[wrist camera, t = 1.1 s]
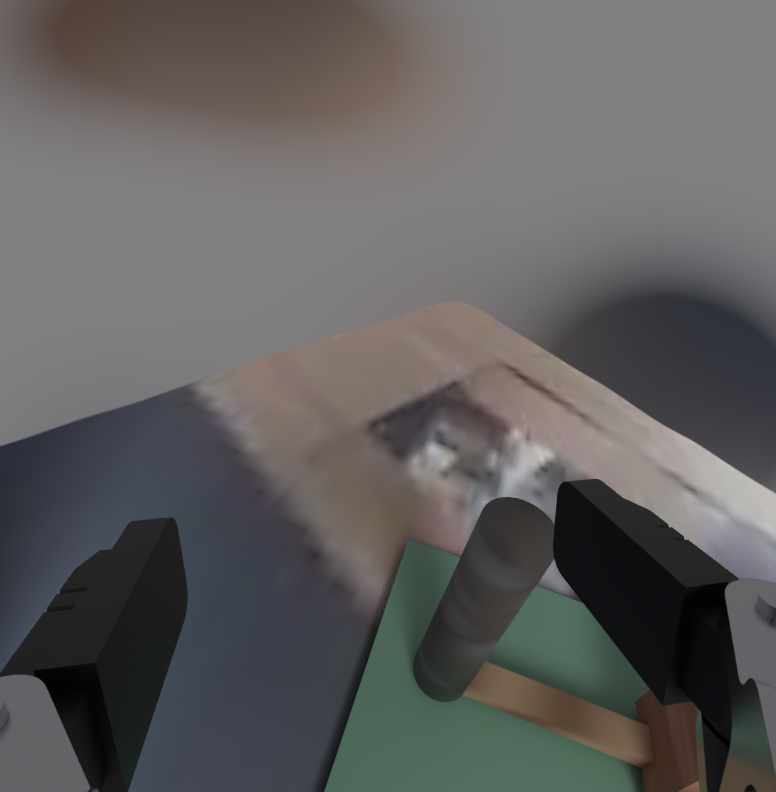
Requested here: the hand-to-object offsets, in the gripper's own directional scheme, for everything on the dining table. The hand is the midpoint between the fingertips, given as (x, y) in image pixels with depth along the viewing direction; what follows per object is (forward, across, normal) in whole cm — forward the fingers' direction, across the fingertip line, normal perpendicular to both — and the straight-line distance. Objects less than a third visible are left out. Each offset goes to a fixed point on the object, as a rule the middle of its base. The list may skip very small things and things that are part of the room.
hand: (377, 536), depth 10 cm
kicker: (+10, -10, +18) cm, 23 cm away
